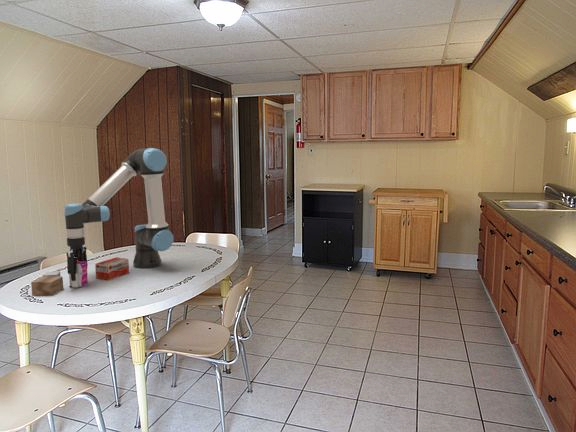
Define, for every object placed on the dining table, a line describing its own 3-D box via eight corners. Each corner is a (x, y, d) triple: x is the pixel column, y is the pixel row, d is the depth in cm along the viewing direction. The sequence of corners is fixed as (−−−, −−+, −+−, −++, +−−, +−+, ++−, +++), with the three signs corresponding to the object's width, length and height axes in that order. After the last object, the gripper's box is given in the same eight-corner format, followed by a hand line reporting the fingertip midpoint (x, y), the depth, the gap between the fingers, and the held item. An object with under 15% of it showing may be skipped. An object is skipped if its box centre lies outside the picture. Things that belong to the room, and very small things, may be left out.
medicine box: (108, 280, 214) (107, 265, 213) (95, 279, 217) (94, 263, 216) (129, 273, 228) (129, 258, 227) (117, 271, 231) (116, 256, 230)
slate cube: (61, 283, 210) (60, 271, 209) (57, 287, 204) (56, 274, 203) (47, 284, 208) (46, 272, 207) (43, 288, 202) (42, 275, 202)
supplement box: (80, 288, 202) (78, 264, 200) (69, 287, 203) (67, 263, 202) (88, 284, 208) (87, 261, 206) (77, 283, 209) (75, 260, 207)
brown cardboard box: (63, 289, 200) (62, 276, 199) (52, 295, 191) (51, 282, 190) (44, 289, 201) (43, 276, 200) (32, 295, 192) (31, 282, 191)
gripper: (78, 233, 212) (81, 279, 215) (55, 241, 193) (59, 291, 196) (93, 233, 211) (96, 279, 215) (72, 241, 192) (76, 291, 196)
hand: (79, 284), depth 205 cm, fingers closed on supplement box, 6 cm apart
